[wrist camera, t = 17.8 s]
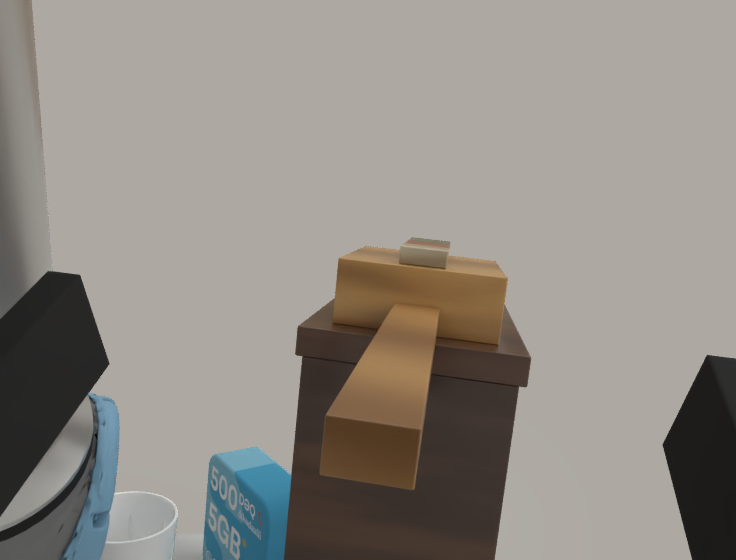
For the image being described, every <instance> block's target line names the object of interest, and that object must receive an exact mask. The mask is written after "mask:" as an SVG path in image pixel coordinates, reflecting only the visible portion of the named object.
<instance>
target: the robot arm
mask: <svg viewBox="0 0 736 560" xmlns="http://www.w3.org/2000/svg"><path fill="white" fill-rule="evenodd" d="M34 40H35V38H34V25H33V13H32V0H0V560H100V558H101V556H102V553H103V550H104V546H105V542H106V538H107V533H108V528H109V519H110V514H109V512H110V510H111V506H112V502H113V498H114V491H115V483H116V474H117V463H118V449H119V413H118V409H117V406H116V404H115V402H114V401H113V400H112V399H111V398H109V397H105V396H97V395H95V394H92V393H89V392H90V390H91V389H92V388H93V386H94V384H95V383H96V382H97V381H98V379H99V378H100V376H101V375H102V374H103V372H104V371H105V369H106V368H107V367H108V365H109V361H108V358H107V355H106V352H105V349H104V346H103V343H102V340H101V337H100V334H99V331H98V328H97V325H96V322H95V319H94V316H93V313H92V310H91V307H90V304H89V301H88V298H87V295H86V292H85V288H84V285H83V282H82V280H81V276H80V275H76V274H69V273H61V272H53V271H52V259H51V246H50V232H49V220H48V209H47V208H48V207H47V195H46V182H45V170H44V169H45V168H44V155H43V143H42V129H41V116H40V104H39V91H38V77H37V65H36V51H35V41H34ZM663 448H664V452H665V456H666V460H667V464H668V467H669V471H670V475H671V479H672V483H673V487H674V490H675V494H676V498H677V502H678V506H679V510H680V514H681V518H682V522H683V526H684V530H685V533H686V537H687V541H688V545H689V549H690V553H691V557H692V560H736V359H734V358H726V357H718V356H710V355H707V356H706V358H705V360H704V362H703V364H702V366H701V368H700V370H699V372H698V374H697V376H696V378H695V380H694V382H693V384H692V386H691V388H690V391H689V392H688V394H687V396H686V399H685V400H684V403H683V405H682V407H681V409H680V411H679V413H678V415H677V417H676V419H675V421H674V423H673V425H672V427H671V429H670V431H669V433H668V435H667V437H666V439H665V441H664V443H663Z"/></svg>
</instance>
